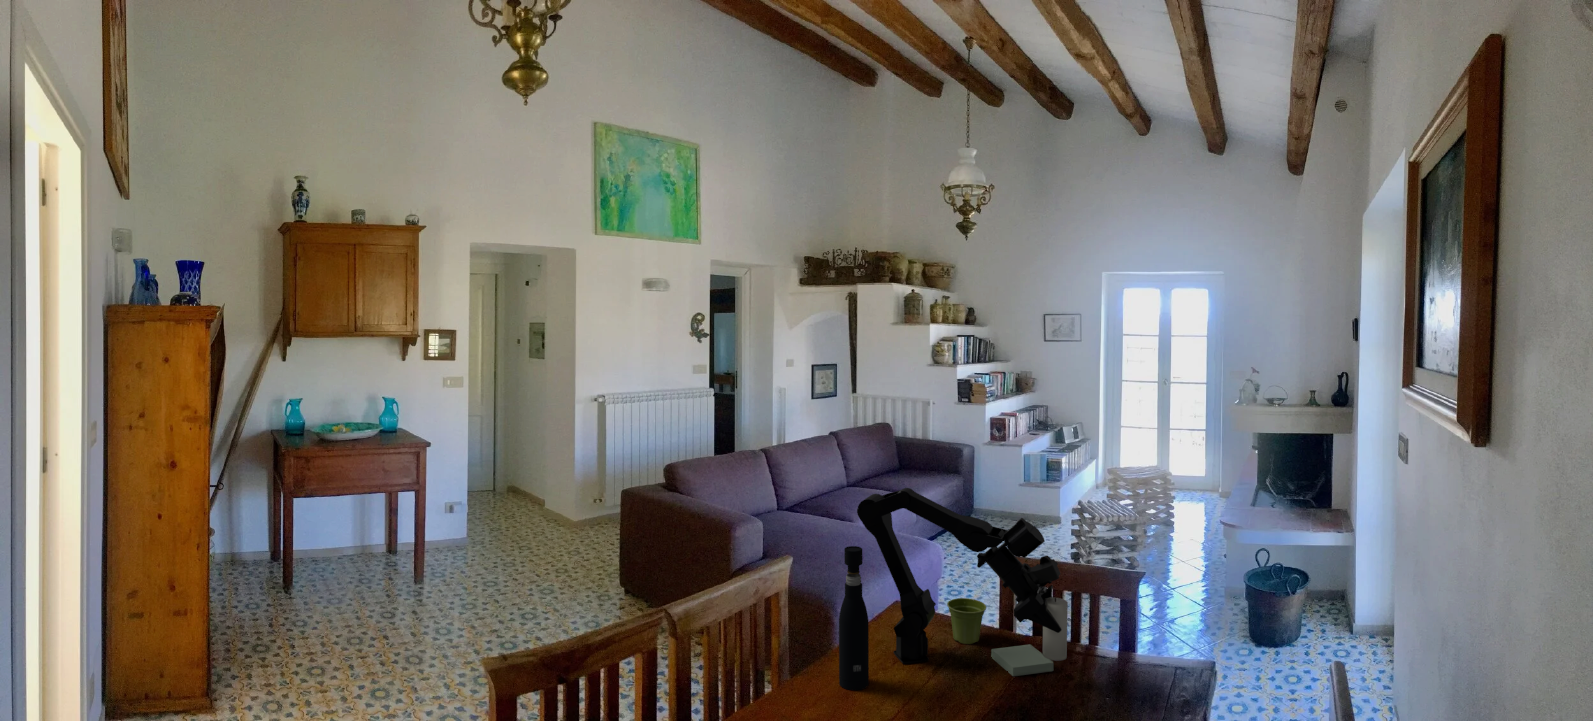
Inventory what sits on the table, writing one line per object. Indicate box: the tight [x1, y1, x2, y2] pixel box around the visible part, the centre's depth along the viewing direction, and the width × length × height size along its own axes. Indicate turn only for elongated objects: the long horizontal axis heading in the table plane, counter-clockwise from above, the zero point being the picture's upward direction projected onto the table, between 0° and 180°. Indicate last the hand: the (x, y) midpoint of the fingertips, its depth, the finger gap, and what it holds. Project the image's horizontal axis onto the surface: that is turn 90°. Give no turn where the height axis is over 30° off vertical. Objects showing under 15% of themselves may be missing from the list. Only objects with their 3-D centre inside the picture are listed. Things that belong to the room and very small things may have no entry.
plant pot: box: [946, 597, 987, 645], centre depth 202 cm, size 9×9×9 cm
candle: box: [1042, 596, 1069, 662], centre depth 178 cm, size 5×5×13 cm
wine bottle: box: [838, 545, 870, 691], centre depth 178 cm, size 6×6×30 cm
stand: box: [990, 644, 1054, 677], centre depth 188 cm, size 10×10×2 cm
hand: (1061, 626), depth 177 cm, fingers closed on candle, 5 cm apart
